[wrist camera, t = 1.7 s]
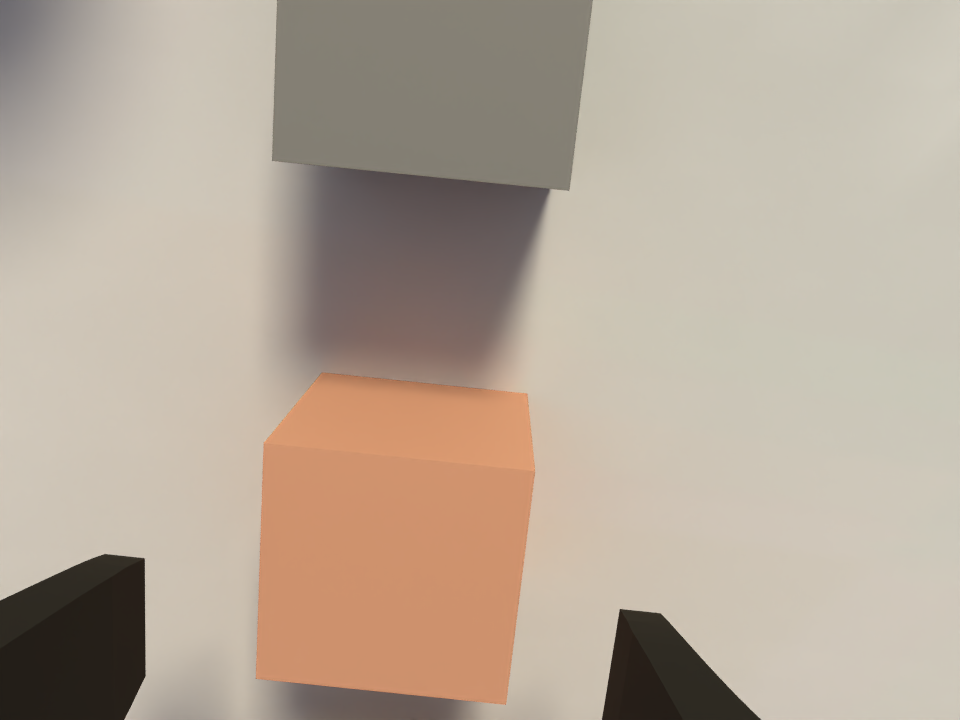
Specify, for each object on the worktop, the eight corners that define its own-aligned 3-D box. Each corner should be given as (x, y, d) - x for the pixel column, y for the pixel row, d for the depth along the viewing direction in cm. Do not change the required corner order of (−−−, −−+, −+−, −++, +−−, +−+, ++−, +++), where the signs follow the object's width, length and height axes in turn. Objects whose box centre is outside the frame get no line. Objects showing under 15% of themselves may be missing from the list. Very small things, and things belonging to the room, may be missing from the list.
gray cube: (552, 180, 16) (569, 190, 12) (334, 158, 16) (272, 160, 12) (580, -60, 15) (610, -145, 11) (345, -84, 15) (281, -177, 11)
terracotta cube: (505, 576, 19) (506, 704, 14) (313, 556, 19) (256, 678, 14) (527, 392, 18) (534, 470, 13) (323, 371, 18) (263, 443, 13)
